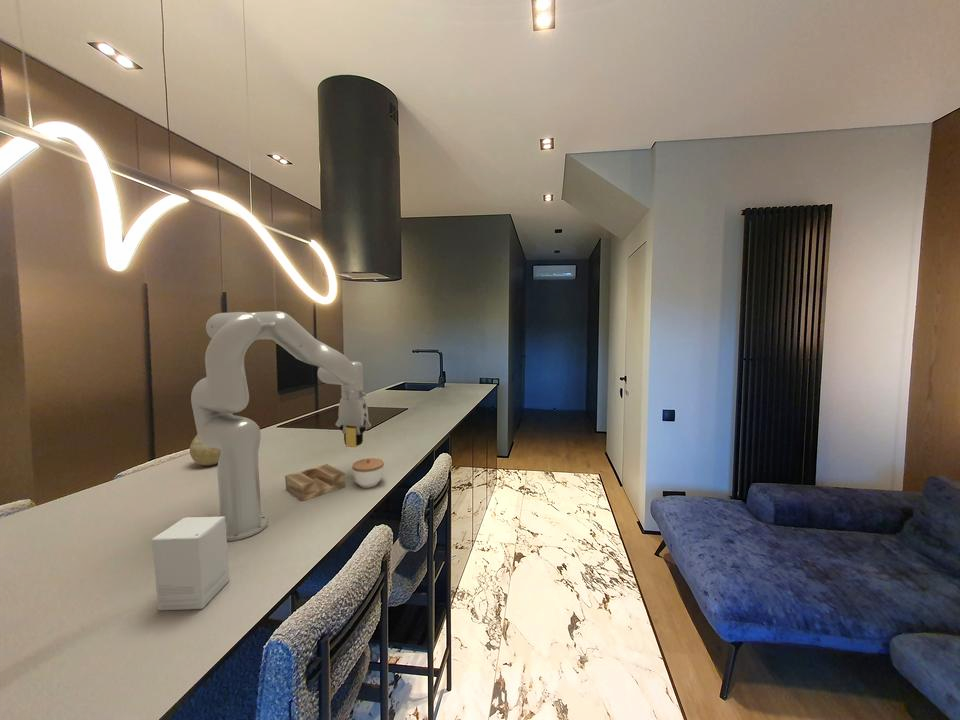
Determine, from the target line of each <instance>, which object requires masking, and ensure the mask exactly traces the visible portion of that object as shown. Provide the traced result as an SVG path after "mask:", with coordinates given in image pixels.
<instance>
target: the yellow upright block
mask: <svg viewBox="0 0 960 720" xmlns="http://www.w3.org/2000/svg"><path fill="white" fill-rule="evenodd" d="M345 430H346V444H345V447H347V448H348V447H349V448H358V447H360V446H361V445H362V444H360V445H356V435H357V429H356V426H349V427H346V428H345Z"/></svg>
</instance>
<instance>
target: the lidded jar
mask: <svg viewBox="0 0 960 720" xmlns="http://www.w3.org/2000/svg"><path fill="white" fill-rule="evenodd" d="M384 464H385V461H384V460H383V459H380V458H375V457H372V458H371V457H370V458H369V457H368V458H363V459H359V460H357V461H354V462H353V463H352V474H353V479H354V481H355V483H356V484H357V485H359V486H360V488H364V489H368V488H373V487H376V486H378V484H379V482H380V481H381V480H382V478H383V475H384Z"/></svg>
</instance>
